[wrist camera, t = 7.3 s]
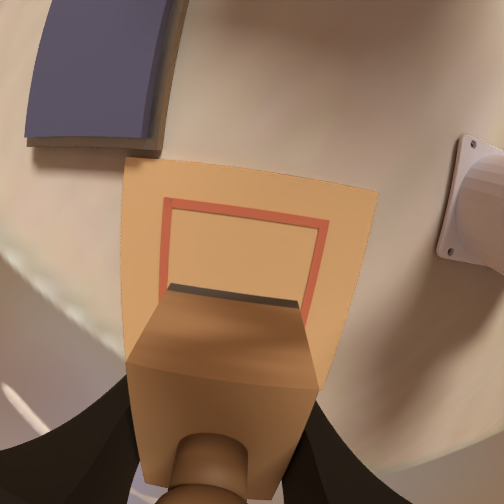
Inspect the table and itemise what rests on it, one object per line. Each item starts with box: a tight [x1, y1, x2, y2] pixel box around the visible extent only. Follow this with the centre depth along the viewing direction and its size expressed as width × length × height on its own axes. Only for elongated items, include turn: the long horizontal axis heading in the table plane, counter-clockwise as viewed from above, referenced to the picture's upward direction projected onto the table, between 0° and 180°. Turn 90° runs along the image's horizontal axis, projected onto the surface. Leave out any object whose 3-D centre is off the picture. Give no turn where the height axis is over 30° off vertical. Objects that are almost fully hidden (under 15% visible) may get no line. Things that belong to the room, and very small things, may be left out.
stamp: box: [125, 283, 320, 504], centre depth 8 cm, size 4×6×8 cm
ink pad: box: [24, 0, 189, 150], centre depth 13 cm, size 9×11×2 cm
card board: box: [121, 157, 378, 391], centre depth 18 cm, size 14×14×1 cm
